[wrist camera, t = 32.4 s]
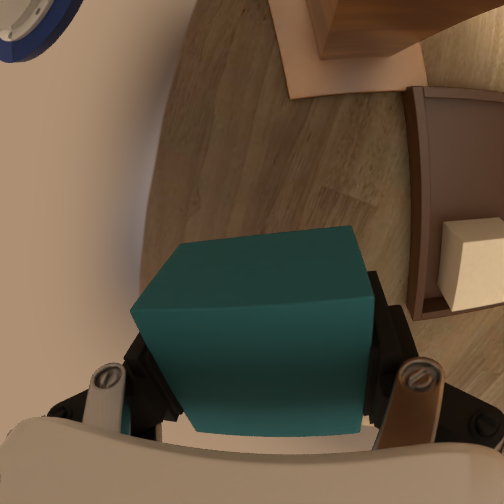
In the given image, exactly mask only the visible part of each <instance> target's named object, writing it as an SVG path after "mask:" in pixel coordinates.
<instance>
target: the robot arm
mask: <svg viewBox="0 0 504 504" xmlns="http://www.w3.org/2000/svg"><path fill="white" fill-rule="evenodd" d="M53 2H54V0H0V38H1V39H2V40H4V41H17V40H20V39H22V38H24V37H25V36H27V35H28V34H29V33H30V32H32V31H33V30H34V29H35V28H36V26H37V25H38V24H39V23H40V22H41V21H42V19H43V18H44V17H45V15H46V14H47V12H48V11H49V9H50V8H51V6H52V4H53ZM367 274H368V277H369V280H370V283H371V287H372V290H373V293H374V297H375V301H374V319H373V333H372V345H371V348H370V358H369V368H368V377H367V385H366V392H365V400H364V406H363V415H364V416H367V415H369V420H370V424H373V423H374V426H375V427H377V428H378V429H379V432H378V435H377V438H376V440H375V443H374V446H373V448H372V450H370V451H359V452H346V453H332V454H303V455H281V454H280V455H279V454H253V453H238V452H227V451H226V452H225V451H217V450H208V449H200V448H193V447H186V446H179V445H173V444H168V443H162V427H161V423H162V422H163V420H167V421H174V422H176V421H177V419H178V416H179V415H181V414H182V413H183V412H184V410H183V408H182V407H181V405H180V403H179V402H178V400H177V398H176V397H175V395H174V393H173V392H172V390H171V388H170V386H169V385H168V383H167V381H166V379H165V378H164V376H163V374H162V372H161V370H160V369H159V367H158V365H157V363H156V361H155V359H154V357H153V356H152V354H151V352H150V351H149V349H148V347H147V345H146V343H145V341H144V339H143V337H142V335H141V333H140V332H139V334H138V335H137V337H136V338H135V340H134V341H133V343H132V345H131V346H130V348H129V350H128V351H127V353H126V354H125V356H124V360H125V361H124V363H123V365H121V364H119V363H109V364H106V365H104V366H102V367H100V368H99V369H98V370H96V371H95V373H94V374H93V375H92V378H91V381H90V385H89V389H87V390H85V391H83V392H81V393H79V394H77V395H75V396H73V397H71V398H68V399H66V400H64V401H62V402H60V403H58V404H56V405H55V406H53V407H52V408H51V409H50V411H49V412H48V414H47V417H46V416H45V415H44V416H42V417H34V418H29V419H26V420H23V421H21V422H20V423H18V424H17V425H16V426H15V427H14V428H13V429H12V430H11V431H10V432H9V433H8V435H7V437H6V439H5V441H4V442H3V444H2V445H1V447H0V504H504V414H503V413H502V412H501V411H500V410H499V409H497V408H496V407H494V406H492V405H490V404H488V403H486V402H484V401H482V400H480V399H478V398H476V397H474V396H472V395H470V394H468V393H465V392H463V391H461V390H459V389H457V388H455V387H453V386H451V385H449V384H447V383H445V372H444V370H443V368H442V366H441V365H440V364H439V363H438V362H436V361H434V360H433V359H430V358H426V357H419V355H418V352H417V349H416V346H415V343H414V340H413V337H412V334H411V331H410V329H409V326H408V323H407V320H406V317H405V315H404V312H403V309H402V307H401V305H392V306H388V304H387V301H386V298H385V295H384V292H383V289H382V287H381V284H380V281H379V278H378V275H377V272H376V271H368V272H367Z"/></svg>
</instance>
